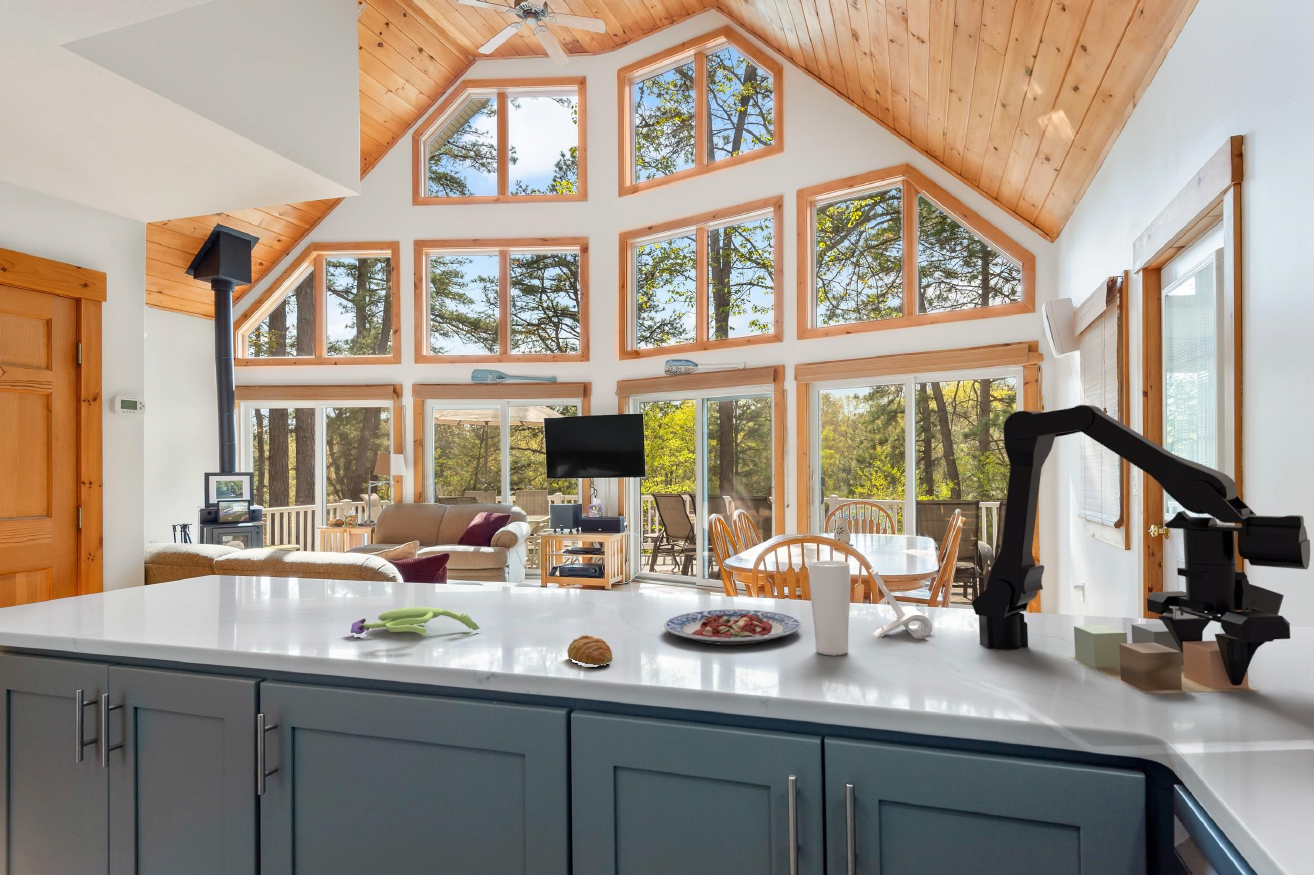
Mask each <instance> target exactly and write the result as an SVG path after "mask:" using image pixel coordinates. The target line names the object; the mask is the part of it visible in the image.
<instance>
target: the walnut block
mask: <svg viewBox="0 0 1314 875" xmlns="http://www.w3.org/2000/svg"><path fill="white" fill-rule="evenodd" d="M1119 650H1120V672H1121V680H1123V681H1125V682H1127V683H1129V684H1131V685H1133V686H1135V687H1138V688H1140V689H1142V690H1144V691H1155V690H1182V679H1181V658H1180V652H1179V651H1177V650H1174V649H1171V648H1168V647H1165V646H1163V645H1160V644H1157V643H1132V642H1130V643H1129V642H1127V643H1125V644H1119Z"/></svg>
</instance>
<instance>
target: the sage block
mask: <svg viewBox="0 0 1314 875" xmlns="http://www.w3.org/2000/svg"><path fill="white" fill-rule="evenodd" d="M1073 636H1074V657H1075V659H1077V660H1079V661H1081V662H1084V663H1086V664H1088V665H1090V666H1092V667H1094V668H1102V667H1120V650H1119V644H1125V643H1128V633H1127V631H1123V630H1120V629H1118V628H1115V627H1112V626H1110V625H1106V624H1103V625H1102V624H1099V625H1097V624H1096V625H1074V626H1073Z"/></svg>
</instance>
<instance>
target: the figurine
mask: <svg viewBox="0 0 1314 875" xmlns="http://www.w3.org/2000/svg"><path fill="white" fill-rule="evenodd" d="M440 616H444V617H449V618H451V619H453V620H456V621H458V622H460V623H461V624H463V625H465V626H466V627H467V628H468V629H470V630H473V631H474V630H477V629H480V630H481V628H480V626H478V624H477V623H476V622H474V620H473V619H472V618H471V617H470V616H469V615H468V614H466V613H461V614H459V613H456V612H454V611H452V610H448V609H441V608H438V607H429V606H414V607H413V606H412V607H403V608H399V609H394V610H388V611H386V612H382V613H381V614H379V615H378V617H377V619H378V620H379V622H373V623H372V622H371V623H368V622H367V623H366V621H367V619H366V618H362V619H360V620H358V621H355V622H353V623H352V624H351V629H350V634H351V633H356V634H361V633H363V632H365V631H366V630H368V631H370V629H374V630H375V629H379V628H384V627H385V629H386V628H387V629H386V631H389V632H390V633H397V632H398V633H400V632H401V633H403V632H413V633H417V634H420V635H425V634H426V633H427V629H426V628H425V627H422V626H420V624H422V623H424V624H426V623H428V622H429V621H430V620H432V619H435V618H438V617H440ZM471 628H472V629H471Z"/></svg>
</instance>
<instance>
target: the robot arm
mask: <svg viewBox="0 0 1314 875" xmlns="http://www.w3.org/2000/svg"><path fill="white" fill-rule="evenodd" d="M1002 430H1003V445H1004V450H1005V453H1006V456H1007V459H1008V462H1009V472H1008V481H1007V490H1006V491H1007V493H1006V500H1005V508H1004V518H1003V519H1004V520H1003V527H1002V535H1001V546H1000V551H999V553H998V554H997V557H996V559H995V560H994V562H993V563H992V565H991V568H990V571H989V574H988V577H987V579H986V580H987V581H986V585H985V589H984V590H983V591H982V592H981V593H980V594H979V595H978V596H976V598H974V600H973V601H971V606H972V608H973V610H974V613H975V615H976V616H978V628H979V629H978V630H979V631H978V632H979V633H978V634H979V645H981V646H982V647H984V648H986V649H989V650H998V651H1016V650H1020V649H1026V648H1028V647H1029V634H1028V631H1029V630H1028V622H1026V621H1025V614H1024V613H1022V612H1025V611H1027V609H1028V606H1029V603H1030V602H1031V601H1033V600H1034V599H1036V598H1037V596H1038V594H1039V591H1041V590H1043V589H1044V588H1043V584H1042V583H1043V582H1042V579H1043V574H1044V572H1045V566H1044V565H1043V564H1036V562H1035V559H1034V555H1033V547H1034V537H1035V536H1034V535H1035V529H1036V528H1035V527H1036V520H1037V519H1036V518H1037V512H1038V511H1037V510H1038V500H1039V494H1040V493H1039V492H1040V485H1041V476H1042V475H1041V474H1042V468H1043V467H1044V464H1045V462H1046V460H1047V458H1048V457H1049V455H1050V453H1051V451H1052V448H1053V446H1054V442H1055V438H1058V437H1064V436H1069V435H1074V434H1078V433H1083V434H1084V435H1086V436H1087V437H1089V438H1091V439H1092V440H1094V441H1095V442H1097V443H1099V444H1100V445H1101V446H1104V447H1105V448H1107V449H1108V450H1109V451H1111V452H1112V453H1114V454H1116V455H1117V456H1119V457H1120V458H1122V459H1124V460H1125V461H1127V462H1129V463H1130V464H1132V465H1133V466H1135V467H1137V468H1138V469H1140V470H1142V471H1143V472H1145V473H1146V474H1148V475H1149V476H1150V477H1152V479H1154V480H1155V481H1156V482H1157V484H1159V486H1160V487H1161V488H1162V489H1163V490H1164V491H1165V493H1166V494H1168V495H1169V496H1170V497H1171V498H1172V499H1173V500H1175V502H1176V503H1178V504H1179V505H1180V506H1181V507H1182V508H1184V509H1185V510H1186V511H1189V512H1190V513H1193V514H1197V515H1209V516H1210V517H1209V516H1207V517H1205V516H1191V515H1189V514H1188V513H1187V512H1186V511H1185V510H1179V511H1177V512H1176V513H1175V515H1174V517H1172V518H1171V519H1170V520H1168V521H1167V522H1166V523H1165V524H1164V527H1165V528H1167V529H1175V530H1176V529H1177V530H1178V529H1179V530H1182V534H1183V538H1182V539H1183V557H1184V558H1183V559H1184V567H1177V568H1176V570H1177V571H1176V572H1177V576H1181V577H1184V579H1185V581H1184V582H1185V591H1182V590H1181V591H1180V590H1179V591H1177V590H1176V591H1152V592H1151V593H1150V594H1149V595H1148V597H1147V598H1146V608H1147V612H1150V613H1154V614H1157V615H1158V620H1159V621H1161V622H1162V623H1164V625H1165V626H1166V628H1167V629H1168V631H1169V632H1170V634H1171V635H1172V637H1173V639H1174V640H1175V642H1176V643H1177V645H1178V647H1179V649H1180V650H1181V652H1182V654H1183V642H1190V641H1203V634H1204V630H1205V628H1206V627H1207V626H1208V625H1209V624H1210V623H1211V621H1213V622H1215V623H1218V624H1219V623H1220V627H1221V629H1222V631H1223V632H1224V633H1214V637H1215V641H1217V644H1218V647H1219V650H1220V653H1221V656H1222V660H1223V663H1224V666H1225V669H1226V672H1227V675H1228V678H1229V680H1230V683H1231V684H1232V685H1234V686H1237V685H1241V684H1242V682H1243V679H1244V677H1245V674H1246V672H1247V669H1248V670H1249V668H1250V667H1249V666H1250V664H1251V662H1252V659H1253V657H1254V655H1255V654H1256V651H1257V650H1258V648H1260V647H1262V645H1264V644H1265V643H1269V642H1270V643H1271V642H1274V641H1275V640H1290V639H1291V623H1290V622H1289V621H1288V620H1287V619H1286V618H1285V617H1284V616H1283V615H1279V613H1280V610H1281V606H1282V603H1283V600H1284V596H1285V594H1282V593H1279V592H1276V591H1273V590H1270V589H1267V588H1264V587H1262V586H1257V585H1255V584H1251V583H1250V581H1249V579H1248V575H1247V574H1246V572H1245V571H1242V570H1237V555H1236V533H1235V532H1237V550H1238V551H1237V552H1238V555H1239V556H1240V558H1242V559H1243V560H1248V563H1249V565H1250V566H1251V567H1252V566H1255V567H1269V568H1278V569H1279V568H1282V569H1292V570H1293V569H1294V570H1295V569H1296V570H1308V568H1309V566H1310V561H1311V541H1310V539H1308V533H1307V529H1306V526H1305V519H1304V516H1303V515H1298V514H1297V515H1294V514H1291V515H1284V516H1279V515H1278V516H1277V515H1257V513H1255V512H1254V511H1253V509H1251V508H1250V507H1249V505H1247V503H1246V502H1244V500H1243V499H1242V498H1241V497H1240V496H1239V495H1238V490H1237V487H1236V486H1237V485H1236V483H1235V481H1234V479H1232V478H1231V477H1230V476H1229V475H1228V474H1226V473H1224V472H1222V471H1219V470H1216V469H1213V468H1211V467H1209V466H1206V465H1203V464H1202V463H1199V462H1196V461H1192V460H1190V459H1187V458H1184V457H1181V456H1179V455H1176V454H1174V453H1173V452H1170V451H1169V450H1167V449H1165V448H1164V447H1162V446H1161V445H1158V444H1157V443H1156V442H1154V441H1152V440H1150V439H1149V438H1147V437H1145V436H1144V435H1142V434H1141V433H1138V432H1137V431H1135V430H1133V428H1130V427H1129V426H1127V425H1125V424H1123V422H1120V421H1119V420H1117V419H1115V418H1114V417H1112V416H1110V415H1108V414H1107V413H1105V412H1104V411H1103V410H1102V409H1101V408H1100V407H1098V406H1096V405H1092V404H1091V405H1089V404H1079V405H1075V406H1073V407H1070V408H1069V407H1068V408H1063V409H1057V410H1056V409H1055V410H1051V411H1045V412H1043V411H1039V410H1018V411H1016V412H1012V413H1011V414H1010V415H1009V416H1008V417H1006V419H1005V420H1004V422H1003V427H1002ZM1218 521H1219V522H1221V523H1224V524H1218ZM1230 524H1231V525H1230ZM1232 524H1233V525H1232ZM1234 524H1241V525H1234Z"/></svg>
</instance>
